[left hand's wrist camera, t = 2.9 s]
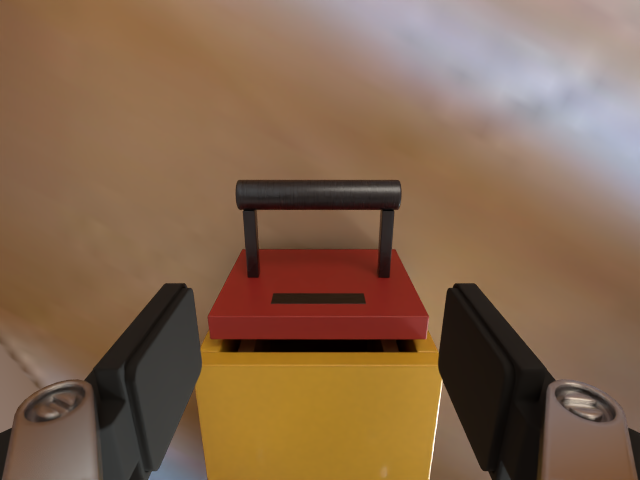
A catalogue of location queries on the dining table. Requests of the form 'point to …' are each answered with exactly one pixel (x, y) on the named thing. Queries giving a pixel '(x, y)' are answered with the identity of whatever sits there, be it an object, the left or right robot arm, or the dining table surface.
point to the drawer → (318, 278)
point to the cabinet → (318, 412)
